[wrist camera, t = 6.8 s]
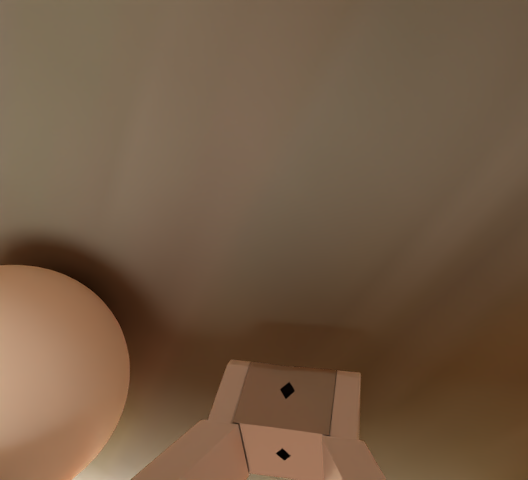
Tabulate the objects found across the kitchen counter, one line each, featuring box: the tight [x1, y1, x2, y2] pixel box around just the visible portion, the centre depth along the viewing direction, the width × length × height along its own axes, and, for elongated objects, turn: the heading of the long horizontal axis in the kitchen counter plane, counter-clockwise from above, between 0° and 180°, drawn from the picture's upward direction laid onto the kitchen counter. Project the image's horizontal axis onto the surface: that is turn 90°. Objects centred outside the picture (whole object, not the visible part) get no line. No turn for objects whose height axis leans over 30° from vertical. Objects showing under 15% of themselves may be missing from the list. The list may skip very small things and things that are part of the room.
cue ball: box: [0, 265, 130, 480], centre depth 11 cm, size 6×6×6 cm
